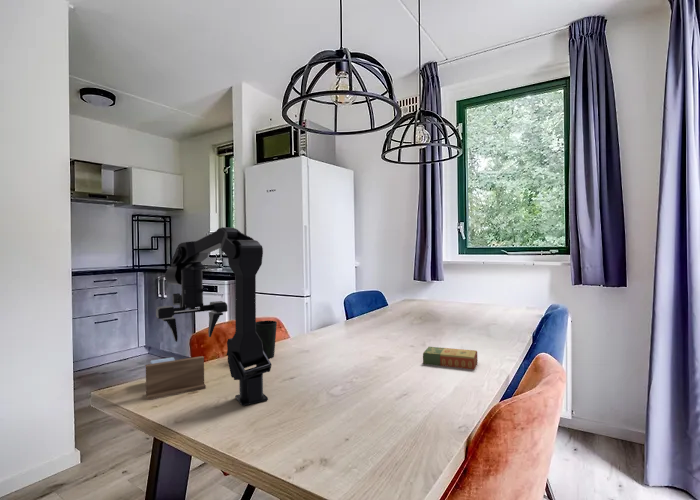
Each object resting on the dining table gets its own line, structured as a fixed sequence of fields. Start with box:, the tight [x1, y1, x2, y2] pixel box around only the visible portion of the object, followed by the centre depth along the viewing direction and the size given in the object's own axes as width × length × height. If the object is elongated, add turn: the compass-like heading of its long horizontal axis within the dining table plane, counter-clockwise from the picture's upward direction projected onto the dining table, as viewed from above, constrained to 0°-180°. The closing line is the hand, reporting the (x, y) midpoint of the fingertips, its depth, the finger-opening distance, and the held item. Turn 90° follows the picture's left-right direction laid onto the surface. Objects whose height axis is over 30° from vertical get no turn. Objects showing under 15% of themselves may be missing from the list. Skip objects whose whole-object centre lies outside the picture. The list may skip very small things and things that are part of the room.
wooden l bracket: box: [145, 355, 207, 401], centre depth 101 cm, size 5×14×8 cm, turn 122°
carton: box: [422, 346, 479, 370], centre depth 122 cm, size 8×16×4 cm, turn 65°
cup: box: [256, 320, 277, 360], centre depth 132 cm, size 8×8×12 cm
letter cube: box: [150, 356, 176, 364], centre depth 108 cm, size 6×6×6 cm
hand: (193, 339), depth 110 cm, fingers open, 9 cm apart
